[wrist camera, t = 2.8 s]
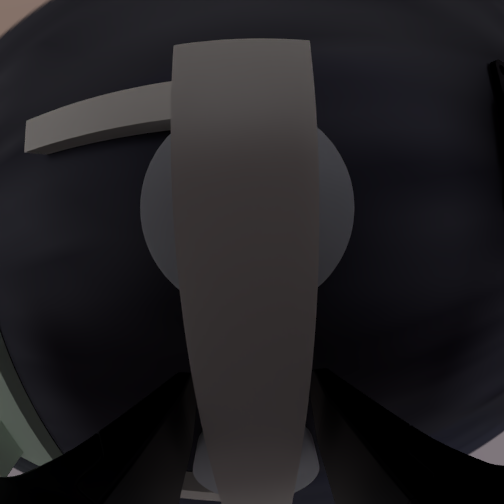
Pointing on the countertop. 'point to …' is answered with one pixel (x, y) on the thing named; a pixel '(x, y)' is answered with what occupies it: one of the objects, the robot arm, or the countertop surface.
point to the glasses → (235, 243)
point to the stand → (20, 422)
